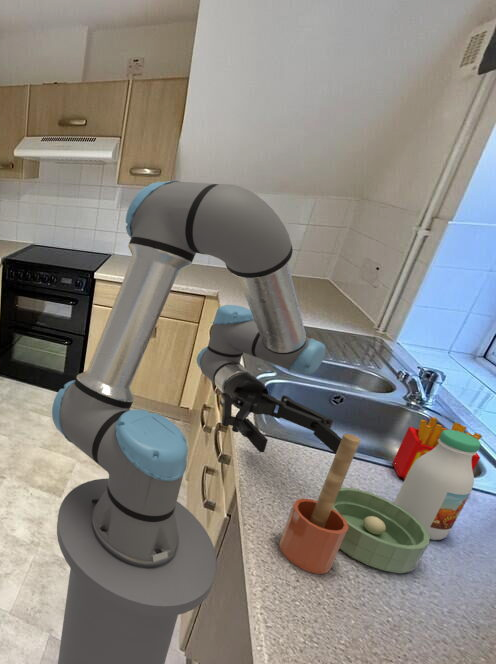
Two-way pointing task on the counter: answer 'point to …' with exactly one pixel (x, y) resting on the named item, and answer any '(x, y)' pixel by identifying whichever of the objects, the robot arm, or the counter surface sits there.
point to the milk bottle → (440, 483)
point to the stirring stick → (334, 479)
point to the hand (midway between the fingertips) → (303, 448)
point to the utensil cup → (312, 538)
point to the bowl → (384, 549)
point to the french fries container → (423, 444)
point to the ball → (374, 525)
